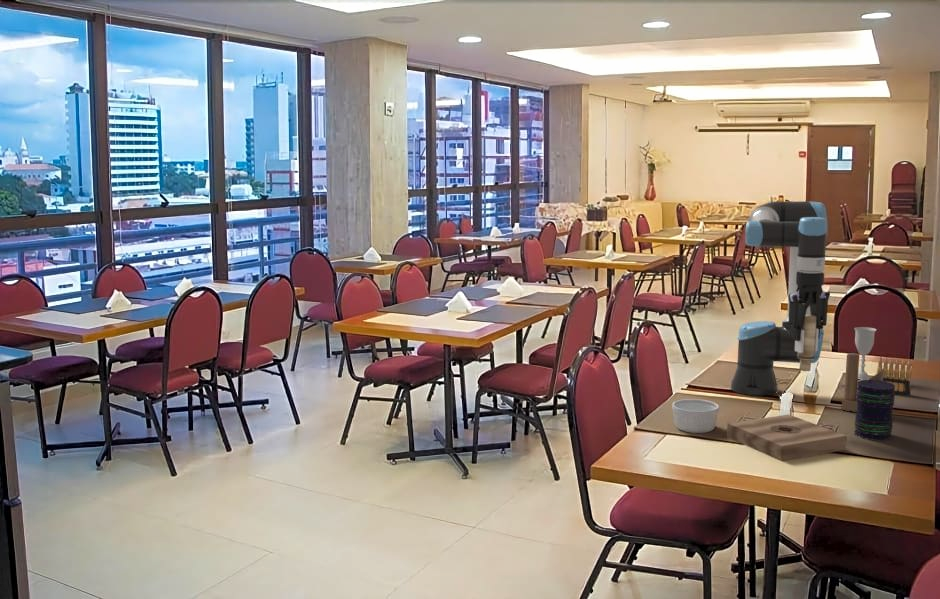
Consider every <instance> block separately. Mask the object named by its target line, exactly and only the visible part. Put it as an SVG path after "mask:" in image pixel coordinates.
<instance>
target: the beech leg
mask: <svg viewBox="0 0 940 599" xmlns="http://www.w3.org/2000/svg"><path fill="white" fill-rule="evenodd" d="M802 330H805V331H804V348H803V353H800V352H798V353H797V358H798V359H800V363H799V371H802V372H810V371H811V367H812V363H811V360H813V359H814V358H815V356H814V352H815V334H816V316H814V315H805V319H804V324H803V328H802Z"/></svg>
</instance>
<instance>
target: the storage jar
mask: <svg viewBox="0 0 940 599" xmlns="http://www.w3.org/2000/svg"><path fill="white" fill-rule="evenodd" d="M894 389H895V385H894V384H892V383H889V382H884V381H877V380H858V385H857V398H856V400H857V413H855V420H854V429H855V430H854V432H855V434H856V435H857V436H856V435H855V434H854V435H855V436H856V437H858V436H860V437H863V438H862V439H864V438H868V439H873V440H872V441H877V440H883V441H888V440H887V439H889V440H890V438H891V439H892V431H893V422H894V421H893V420H894V419H893V409H894V407H893V406H894V405H895V397H896V394H895V391H894ZM860 437H859V438H860ZM868 439H867V440H868Z"/></svg>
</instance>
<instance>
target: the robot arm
mask: <svg viewBox="0 0 940 599" xmlns="http://www.w3.org/2000/svg"><path fill="white" fill-rule="evenodd" d="M827 215H828V214H827V210H826V206H825V204H824V203H822V202H818V201H810V200H807V201H806V200H805V201H804V200H803V201H771V202H767V203H764V204H761V205H759V206H757V207H756V208H754V209H753V210H752V211H751V213H750V214H749V218H748V221H747V222H746V224H745V240H744V242H745V245H746V246H748V247H749V246H751V247H755V248H756V247H783V248H784V247H785V248H789V263H788V264H789V271H788V291H787V312H786V313H787V316H786V317H785V318H784V319H783V320H782V322H781V326H777V324H776V322H775V321H768V320H761V321H751V322H746V323H744V324H742V325H741V326H740V327H739V331H738V337H737V340H738V343H737V345H738V346H737V362H736V363H737V365H736V369H735V372H734V375H733V378H732V380H731V383H730V390H731V389H732V391H733V392H734V393H737V394H741V395H746V396H747V395H749V396H760V397H761V396H764V395H766V396H771V395H770V394H773V395H775V394H774V393H776V392H777V391H779V390H778V389H779V388H778V387H779V386H778V385H779V384H778V382H777V379H776V377H777V376H776V374H775V371H774V362H778V363H780V362H781V363H796V364H800V359H798V358H797V353H798V352H800V353H803V348H804V331H805V330H802V328H803V324H804V319H805V315H814V316H816V334H815V352H814V356H815V358H814V359H813V360H811V364H815V363H817V362H818V361H819V359H820V356H821V352H822V347H823V343H824V335H825V330H824V326H825V327H826V325H827V320H828V319H827V318H828V309H829V308H828V306H829V305H828V304H829V299H830V296H831V293H830V292H828V291H824V290H823V287H822V286H824V284H825V273H824V271H825V268H826V248H827V238H828V230H829V229H828V216H827ZM777 393H778V392H777ZM777 393H776V394H777Z"/></svg>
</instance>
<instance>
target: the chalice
mask: <svg viewBox="0 0 940 599" xmlns="http://www.w3.org/2000/svg"><path fill="white" fill-rule="evenodd" d="M853 329H854V331H855V334H854V336H855V338H854V344H855V347H856V349H857V352H858V354H859V355H861V359H860V361H861V362H860V364H859V366H860V367H861V368H860V370H858V379H861V380H860V381H862V380H869V379H870V377H869V374H868V373H867V372H866V371H865V367H866V366H867V365H866V364H865V363H866V355H869V353H870V352H871V350H872V348H873V346H874V344H875V335H876V334H875V333H876V332H877V329H876V328H874V327H869V326H868V327H866V326H859V327H854V328H853Z"/></svg>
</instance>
